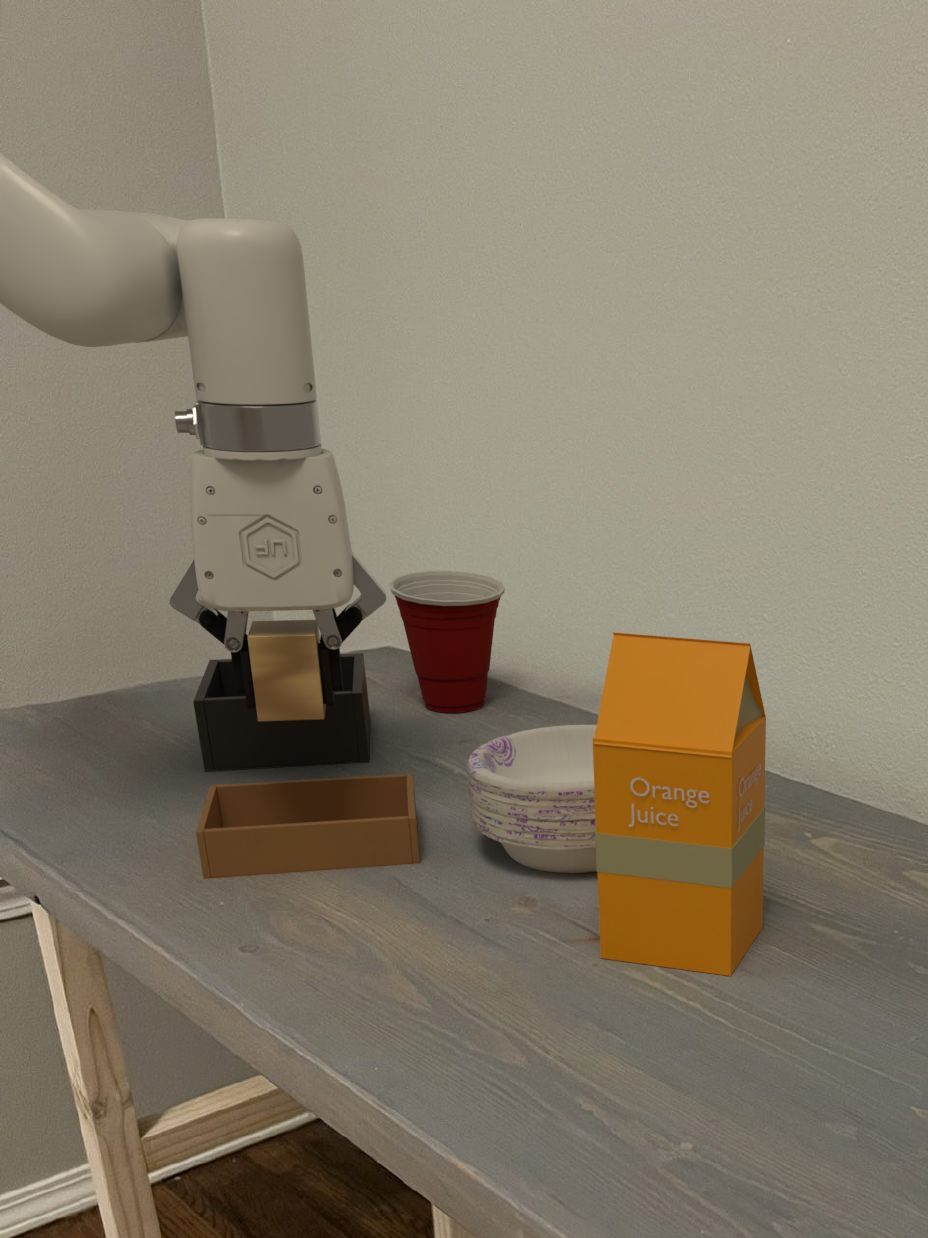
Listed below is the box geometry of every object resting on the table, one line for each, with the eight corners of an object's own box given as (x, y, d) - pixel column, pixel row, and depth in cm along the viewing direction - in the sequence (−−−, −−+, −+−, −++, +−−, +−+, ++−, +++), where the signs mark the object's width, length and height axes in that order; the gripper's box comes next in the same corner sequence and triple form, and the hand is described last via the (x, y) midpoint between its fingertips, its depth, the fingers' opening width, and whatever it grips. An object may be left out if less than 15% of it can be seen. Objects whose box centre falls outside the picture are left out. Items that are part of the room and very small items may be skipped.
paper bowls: (460, 828, 115) (452, 729, 111) (649, 809, 119) (647, 713, 115) (491, 903, 102) (483, 794, 98) (703, 879, 106) (702, 774, 103)
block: (257, 721, 103) (247, 636, 100) (262, 703, 107) (252, 620, 104) (324, 719, 104) (315, 634, 101) (326, 701, 108) (317, 619, 105)
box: (204, 884, 105) (195, 831, 103) (217, 834, 113) (209, 785, 111) (420, 869, 107) (415, 817, 106) (417, 821, 116) (412, 773, 114)
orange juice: (730, 977, 92) (733, 659, 83) (598, 958, 94) (586, 647, 85) (764, 927, 99) (769, 628, 90) (639, 911, 101) (633, 617, 92)
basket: (205, 777, 125) (192, 700, 122) (220, 730, 137) (209, 659, 134) (370, 767, 128) (361, 692, 125) (370, 722, 140) (363, 652, 137)
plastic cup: (451, 728, 138) (440, 598, 133) (377, 707, 144) (364, 582, 139) (535, 703, 146) (528, 580, 140) (461, 684, 152) (452, 565, 146)
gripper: (115, 437, 92) (159, 722, 100) (393, 437, 95) (414, 713, 104) (132, 423, 98) (173, 691, 107) (392, 423, 102) (412, 684, 110)
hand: (291, 699), depth 105 cm, fingers closed on block, 4 cm apart
